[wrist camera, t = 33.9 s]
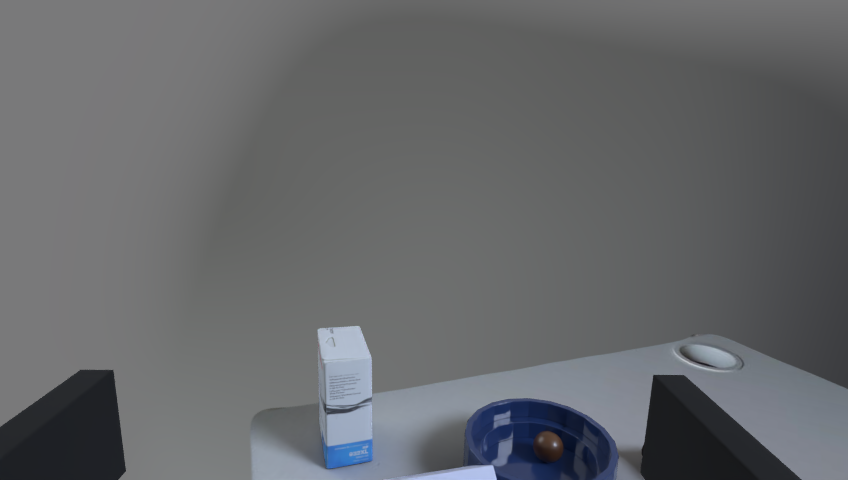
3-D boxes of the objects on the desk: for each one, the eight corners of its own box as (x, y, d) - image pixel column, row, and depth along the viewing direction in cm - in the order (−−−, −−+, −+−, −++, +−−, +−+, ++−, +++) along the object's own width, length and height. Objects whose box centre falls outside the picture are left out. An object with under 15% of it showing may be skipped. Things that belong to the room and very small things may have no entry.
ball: (541, 426, 52) (548, 456, 51) (524, 434, 50) (530, 465, 49) (565, 427, 50) (572, 458, 49) (547, 436, 48) (554, 468, 47)
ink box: (373, 462, 50) (373, 356, 47) (324, 470, 48) (321, 361, 46) (361, 416, 58) (360, 323, 55) (318, 422, 56) (315, 327, 54)
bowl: (438, 494, 46) (439, 451, 45) (496, 420, 57) (498, 385, 57) (594, 563, 38) (600, 514, 38) (624, 463, 50) (628, 424, 49)
